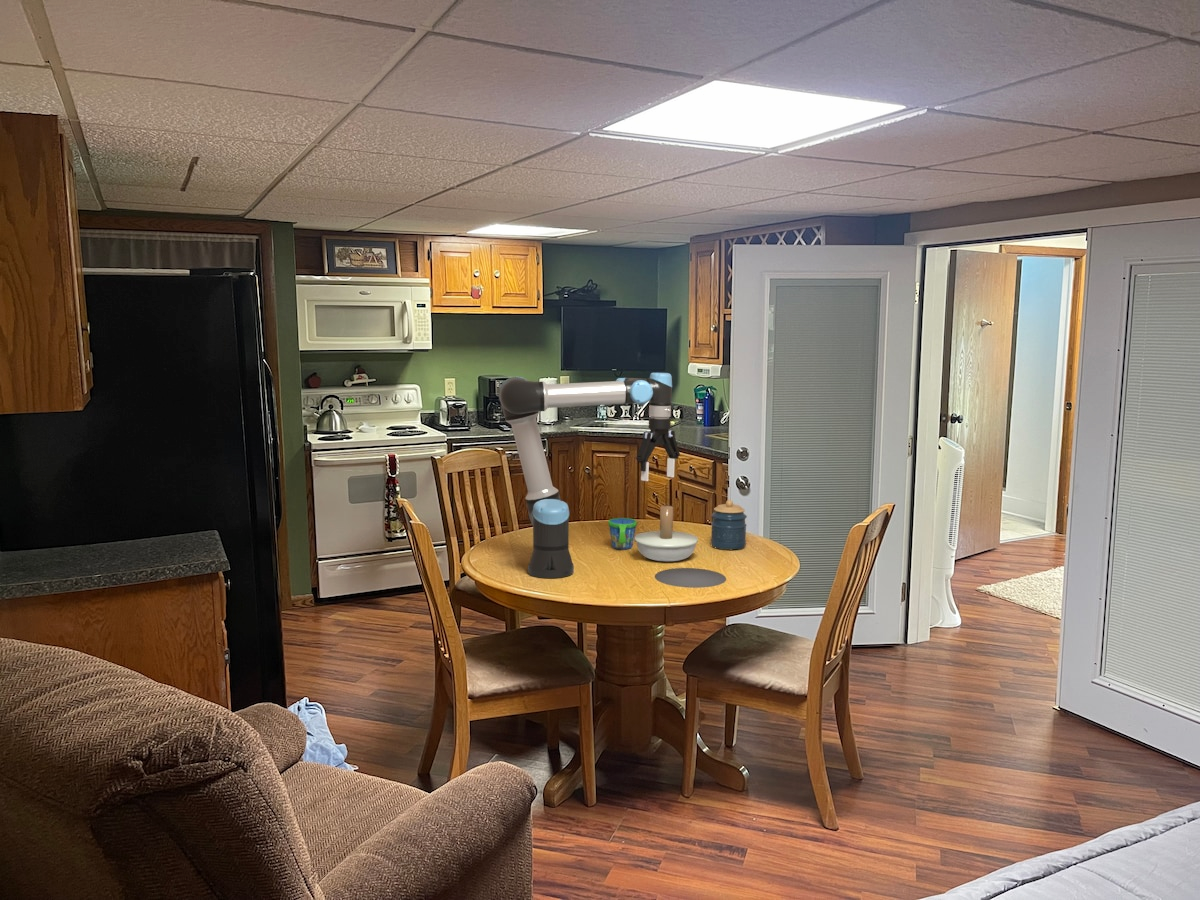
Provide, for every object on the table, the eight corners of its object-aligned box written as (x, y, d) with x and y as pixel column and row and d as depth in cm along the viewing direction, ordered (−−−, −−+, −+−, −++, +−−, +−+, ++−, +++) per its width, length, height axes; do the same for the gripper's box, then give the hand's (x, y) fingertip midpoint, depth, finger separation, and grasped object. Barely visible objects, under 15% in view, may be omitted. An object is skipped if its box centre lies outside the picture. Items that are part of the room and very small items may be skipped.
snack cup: (634, 553, 317) (634, 525, 316) (605, 552, 319) (605, 524, 317) (638, 543, 333) (638, 516, 331) (610, 542, 334) (610, 515, 333)
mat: (696, 593, 268) (696, 591, 268) (639, 578, 284) (639, 577, 284) (740, 579, 285) (740, 577, 285) (685, 566, 301) (685, 564, 300)
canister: (734, 541, 337) (735, 496, 335) (752, 549, 325) (753, 502, 323) (704, 544, 332) (705, 498, 330) (721, 552, 320) (722, 504, 318)
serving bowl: (705, 557, 313) (706, 538, 312) (677, 570, 295) (678, 550, 295) (654, 549, 324) (655, 531, 323) (624, 561, 307) (625, 542, 306)
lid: (669, 551, 293) (670, 515, 292) (621, 540, 309) (622, 506, 307) (710, 540, 309) (711, 507, 307) (662, 530, 324) (663, 498, 323)
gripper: (643, 420, 292) (641, 483, 295) (691, 416, 310) (688, 476, 312) (627, 418, 297) (625, 480, 300) (674, 415, 315) (672, 474, 318)
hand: (657, 478), depth 306 cm, fingers open, 13 cm apart
